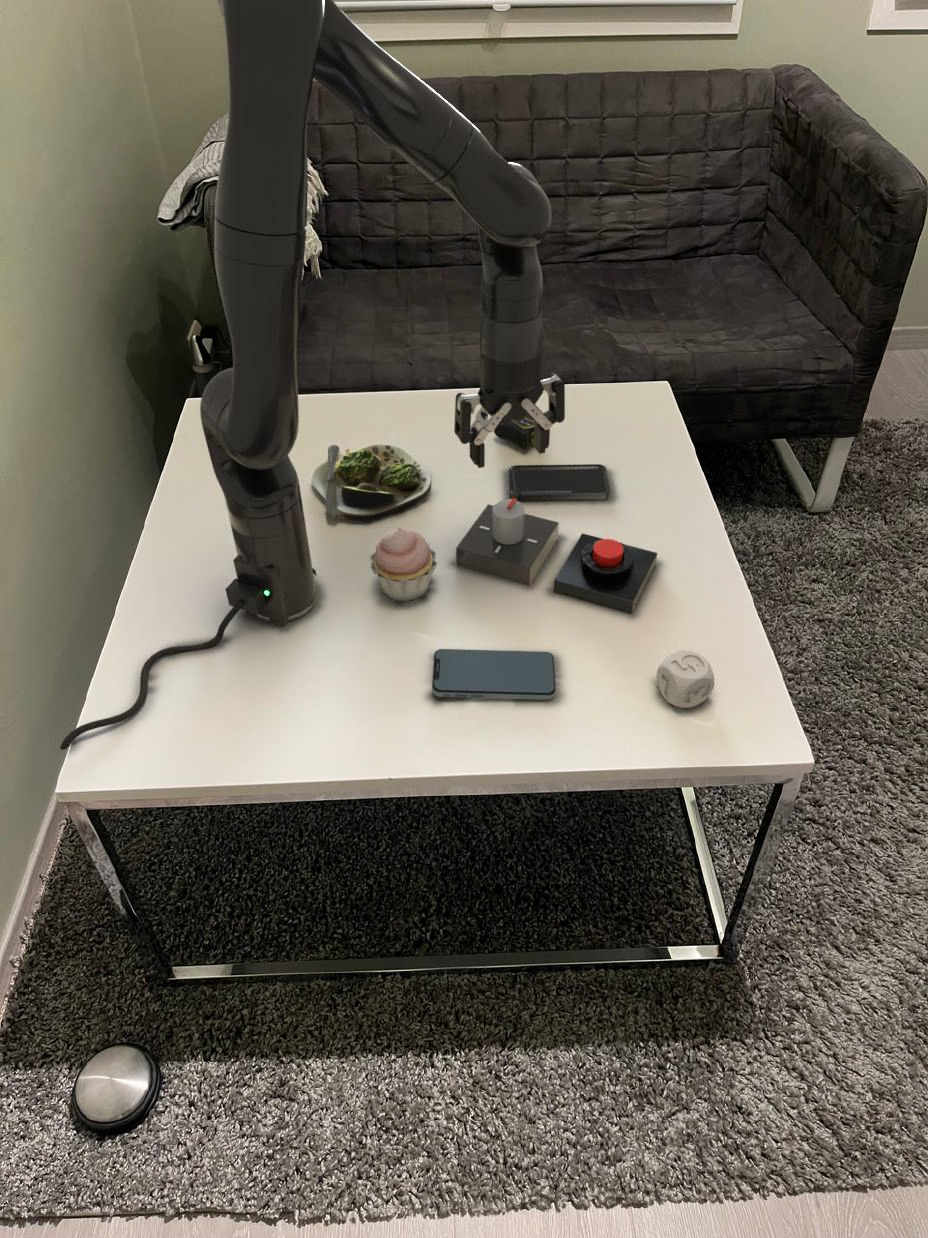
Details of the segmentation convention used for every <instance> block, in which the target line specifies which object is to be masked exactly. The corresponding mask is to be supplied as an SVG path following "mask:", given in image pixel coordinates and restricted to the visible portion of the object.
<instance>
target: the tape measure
mask: <svg viewBox="0 0 928 1238" xmlns="http://www.w3.org/2000/svg"><path fill="white" fill-rule="evenodd" d="M536 422H537V421H536V420H535V419H534V418H533V417H532V416H531V415H530V414H528V415H526V416H525V417H524V419H521V420H511V421H509V422H507V423H501V422H499V424H498V425H497V427H496V428H495V429H494V431H493V433H494V435H495V436H496V437H497V438H499V439H501V440H504V441H506V442H508V443H511V444H513V445H515V446H517V447H518V448H520V449H523V450H529V448H530V447H531V446H532V445H534V428H535V423H536Z"/></svg>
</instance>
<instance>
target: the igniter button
mask: <svg viewBox="0 0 928 1238" xmlns="http://www.w3.org/2000/svg"><path fill="white" fill-rule="evenodd" d="M602 539H603V540H599V541H597V542H596V543H595V544H594V547H593V560H594V562H595V563H596V564H598V565H600V566H604V567H615V566H617V565H619V564H620V563H621V562H622V558H623V546H622V545H621V544H620V543H621V542H620V541H617V540H615V539H612V538H602ZM619 542H620V543H619Z"/></svg>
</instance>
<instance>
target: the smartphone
mask: <svg viewBox="0 0 928 1238" xmlns="http://www.w3.org/2000/svg"><path fill="white" fill-rule="evenodd" d="M554 658H555V657H554V655H553V654H552V653H551V652H549V651H536V650H535V651H531V650H529V651H528V650H500V649H499V650H497V649H496V650H495V649H494V650H493V649H464V648H463V649H460V648H459V649H458V648H457V649H455V648H439V649H437V650H436V651H435V652H434V653H433V668H432V670H433V672H432V685H431V686H432V687H431V689H432V694H433V695H434V696H436V697H440V698H471V699H504V700H505V699H507V700H508V699H510V700H543V701H548V700H552V699H554V698H555V696H556V691H557V689H556V674H555V672H556V671H555V659H554Z"/></svg>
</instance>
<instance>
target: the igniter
mask: <svg viewBox="0 0 928 1238" xmlns="http://www.w3.org/2000/svg"><path fill="white" fill-rule="evenodd" d="M577 539H578V540H577V541H576V542H575V544H574V546H573V548H572V550H571V551H570V553H569V554H568V556H567V558H566V560H565V561H564V563H563V565H562V566H561V568H560V569H559V572H558V573H557V575H556V576H555V578H554V580H553V593H556V594H559V595H563V596H568V597H570V598H573V599H577V600H581V601H584V602H587V603H592V604H594V605H598V606H602V607H606V608H609V609H612V610H617V611H620V612H623V613H627V614H630V615H631V614H633V612H634V610H635V608H636V605H638V604H637V603H638V601H639V599H640V597H641V595H642V594H643V591H644V589H645V587H646V586H647V583H648V581H649V579H650V577H651V575H652V574H653V571H654V569H655V567H656V565H657V558H658V552H656V551H652V550H648V549H643V548H640V547H637V546H632V545H629V544H625V543H623V542H620V541H618V542H619V543H620V544H621V545H622V546H623V558H622V562H621V563H620V564H619V565H617V566H615V567H604V566H600V565H598V564H596V563H595V562H594V560H593V547H594V544H595V543H596V542H597V541H599V540H603V539H604V538H602V537H598V536H594V535H591V534H586V533H581V534H580V536H579V538H577Z"/></svg>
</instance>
